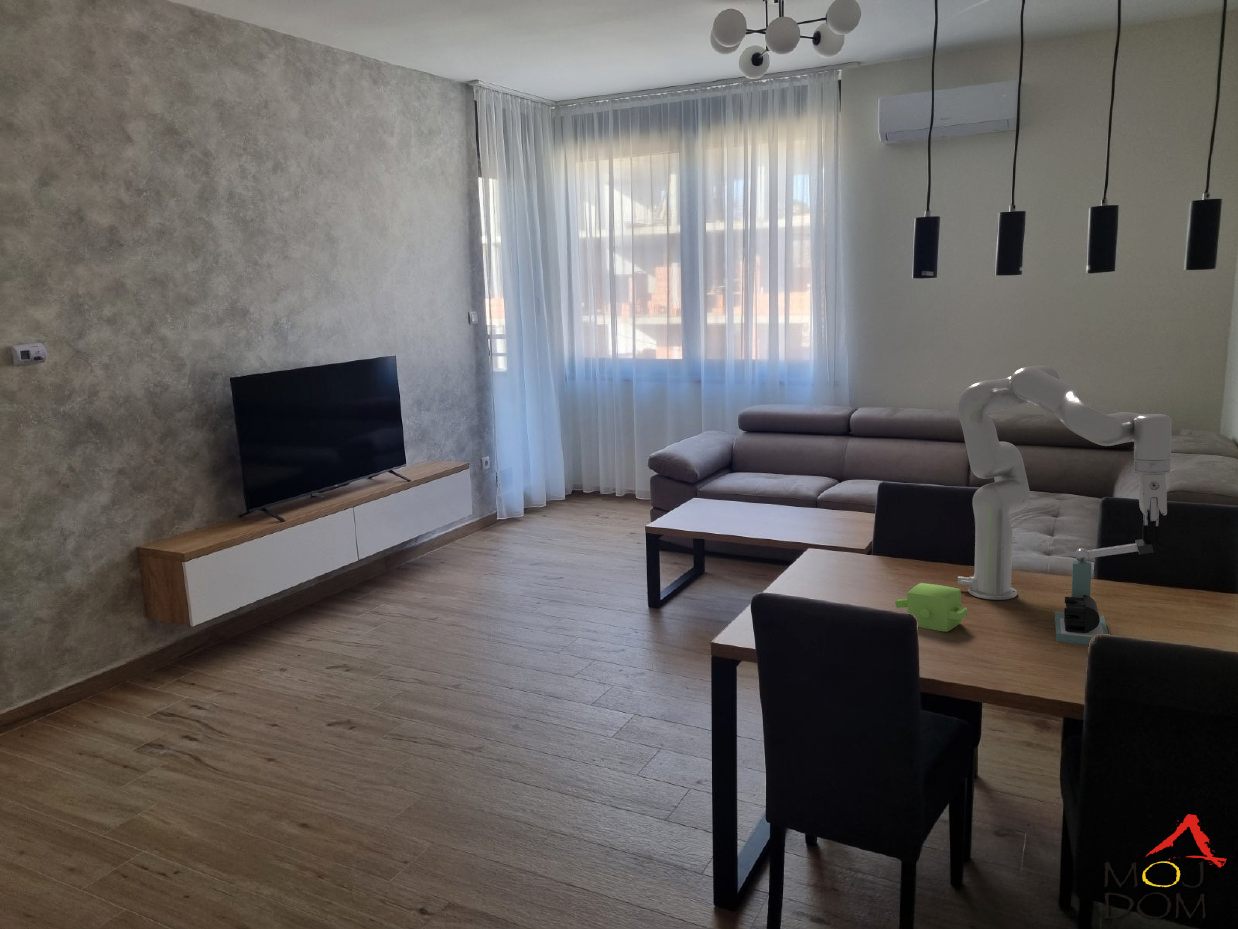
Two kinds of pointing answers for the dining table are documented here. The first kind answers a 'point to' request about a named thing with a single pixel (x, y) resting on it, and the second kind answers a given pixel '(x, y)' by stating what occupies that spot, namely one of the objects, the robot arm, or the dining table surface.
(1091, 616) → the end cap
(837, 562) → the dining table surface
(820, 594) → the dining table surface
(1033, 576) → the dining table surface
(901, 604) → the gearbox
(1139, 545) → the press lever
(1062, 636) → the press frame
